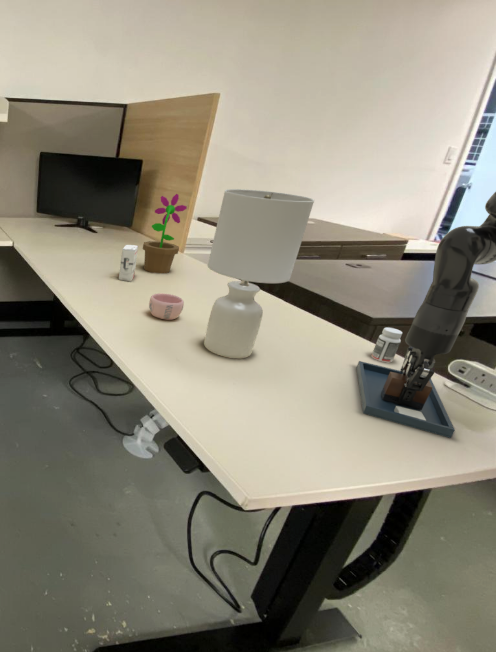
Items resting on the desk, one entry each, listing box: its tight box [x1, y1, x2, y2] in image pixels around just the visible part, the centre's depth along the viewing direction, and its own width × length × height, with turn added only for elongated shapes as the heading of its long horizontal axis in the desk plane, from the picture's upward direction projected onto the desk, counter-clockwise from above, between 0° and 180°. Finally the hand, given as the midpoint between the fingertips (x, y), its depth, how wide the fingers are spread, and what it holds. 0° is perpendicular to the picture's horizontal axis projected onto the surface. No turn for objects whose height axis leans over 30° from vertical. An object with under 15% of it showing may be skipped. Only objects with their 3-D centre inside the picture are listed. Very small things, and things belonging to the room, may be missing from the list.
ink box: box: [118, 244, 139, 283], centre depth 175 cm, size 9×5×12 cm, turn 160°
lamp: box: [203, 188, 315, 359], centre depth 114 cm, size 19×19×39 cm
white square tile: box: [394, 406, 426, 420], centre depth 95 cm, size 4×4×1 cm
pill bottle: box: [371, 327, 403, 364], centre depth 122 cm, size 5×5×8 cm
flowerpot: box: [142, 193, 188, 274], centre depth 185 cm, size 14×14×30 cm
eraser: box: [381, 372, 433, 410], centre depth 100 cm, size 7×4×6 cm, turn 60°
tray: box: [355, 360, 456, 439], centre depth 104 cm, size 26×15×2 cm, turn 150°
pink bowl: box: [148, 292, 185, 320], centre depth 141 cm, size 12×10×6 cm
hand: (402, 398), depth 101 cm, fingers closed on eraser, 3 cm apart
